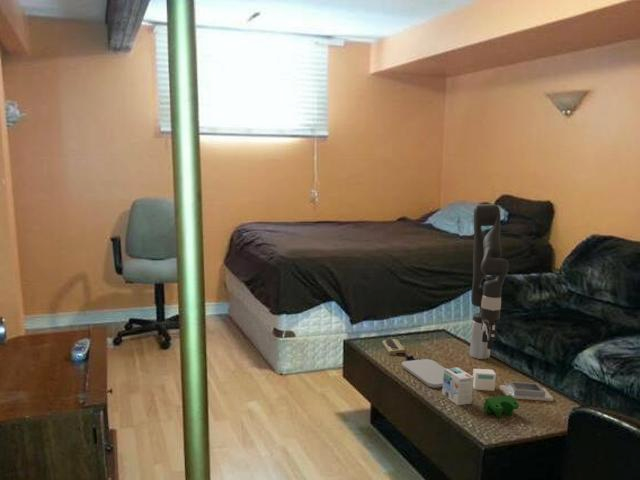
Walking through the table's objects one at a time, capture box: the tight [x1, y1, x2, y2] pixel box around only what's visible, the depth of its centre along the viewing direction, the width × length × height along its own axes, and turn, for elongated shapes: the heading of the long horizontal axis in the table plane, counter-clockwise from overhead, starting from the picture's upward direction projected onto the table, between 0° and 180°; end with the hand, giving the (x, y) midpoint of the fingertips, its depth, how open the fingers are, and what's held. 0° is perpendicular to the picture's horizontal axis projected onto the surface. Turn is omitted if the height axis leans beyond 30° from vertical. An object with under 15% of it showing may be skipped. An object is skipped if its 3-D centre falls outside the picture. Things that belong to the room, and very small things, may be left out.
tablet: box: [401, 358, 447, 389], centre depth 237 cm, size 16×26×2 cm, turn 21°
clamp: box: [482, 395, 520, 419], centre depth 203 cm, size 12×6×9 cm, turn 105°
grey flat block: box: [499, 380, 554, 402], centre depth 222 cm, size 10×18×3 cm, turn 87°
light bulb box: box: [441, 366, 474, 406], centre depth 214 cm, size 11×7×11 cm, turn 22°
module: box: [472, 368, 497, 392], centre depth 226 cm, size 5×8×7 cm, turn 87°
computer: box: [381, 338, 407, 356], centre depth 268 cm, size 16×8×3 cm, turn 6°
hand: (487, 345), depth 224 cm, fingers open, 8 cm apart
